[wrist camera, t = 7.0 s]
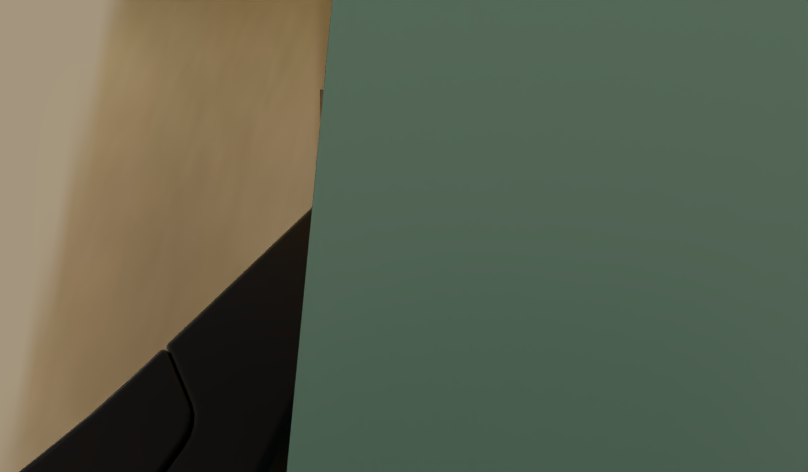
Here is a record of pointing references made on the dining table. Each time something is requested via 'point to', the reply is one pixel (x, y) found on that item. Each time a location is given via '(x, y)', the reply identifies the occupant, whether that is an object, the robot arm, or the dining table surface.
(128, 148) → the dining table surface
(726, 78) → the finger block
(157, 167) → the dining table surface
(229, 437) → the robot arm
